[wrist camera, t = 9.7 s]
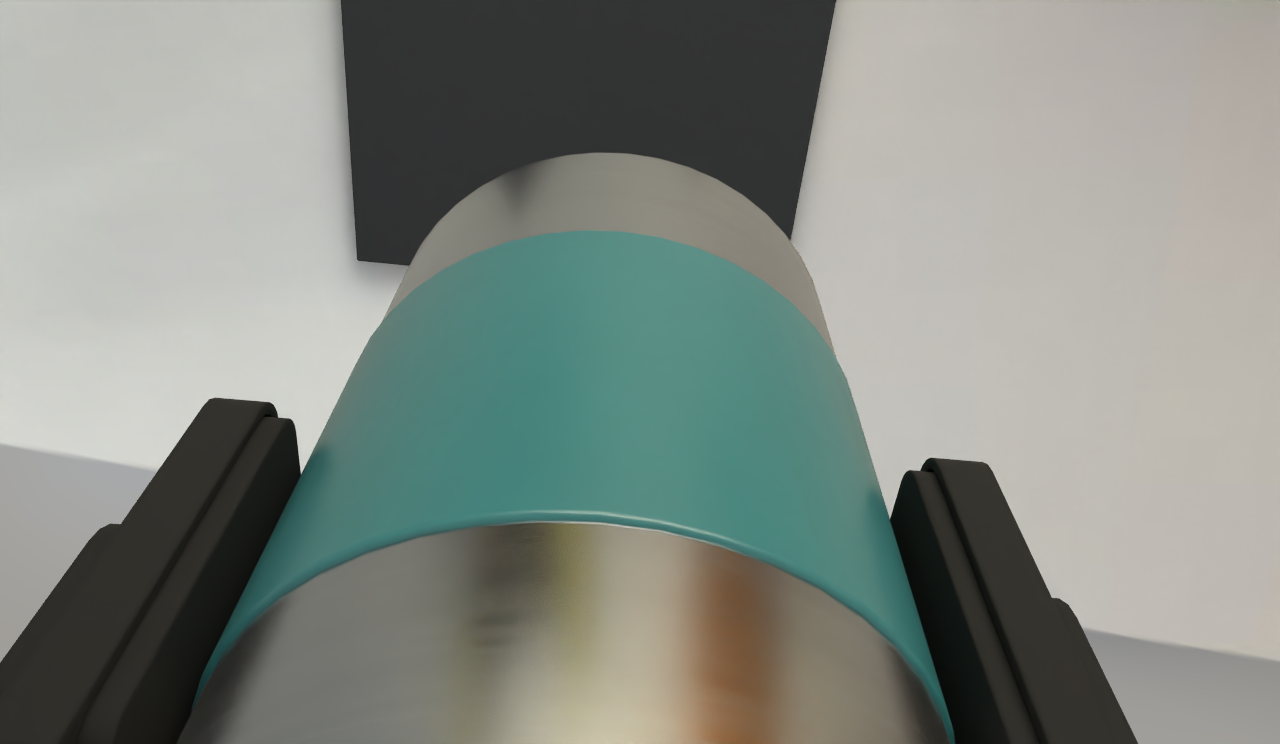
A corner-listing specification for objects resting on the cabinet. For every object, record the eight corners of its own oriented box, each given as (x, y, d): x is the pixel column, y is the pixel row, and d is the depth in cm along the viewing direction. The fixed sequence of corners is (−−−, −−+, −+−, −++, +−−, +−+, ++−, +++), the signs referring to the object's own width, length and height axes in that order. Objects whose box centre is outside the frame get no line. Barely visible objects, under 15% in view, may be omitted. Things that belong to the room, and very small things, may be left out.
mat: (330, -238, 22) (325, -238, 22) (866, -179, 22) (870, -178, 22) (360, 255, 28) (356, 261, 28) (777, 293, 29) (779, 300, 28)
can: (381, 124, 12) (-125, 799, 4) (869, 170, 12) (1241, 896, 4) (399, 506, 15) (128, 1293, 7) (787, 538, 15) (918, 1336, 7)
